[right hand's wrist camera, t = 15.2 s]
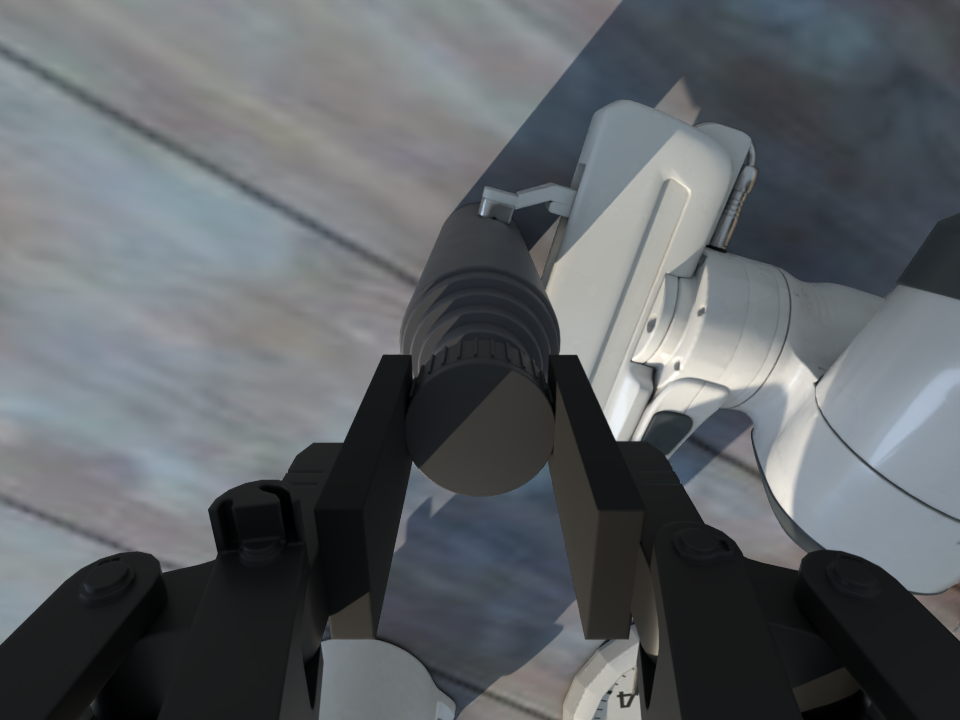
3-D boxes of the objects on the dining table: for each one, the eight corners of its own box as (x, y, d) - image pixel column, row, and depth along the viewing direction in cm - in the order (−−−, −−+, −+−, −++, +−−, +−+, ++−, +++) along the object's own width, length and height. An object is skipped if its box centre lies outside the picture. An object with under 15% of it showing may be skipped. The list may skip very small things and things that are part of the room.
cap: (570, 437, 15) (579, 470, 14) (443, 481, 16) (439, 517, 14) (522, 315, 14) (527, 336, 12) (385, 367, 14) (374, 393, 13)
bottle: (448, 293, 38) (400, 529, 15) (430, 211, 36) (341, 341, 13) (527, 277, 38) (603, 496, 15) (513, 194, 36) (575, 296, 13)
